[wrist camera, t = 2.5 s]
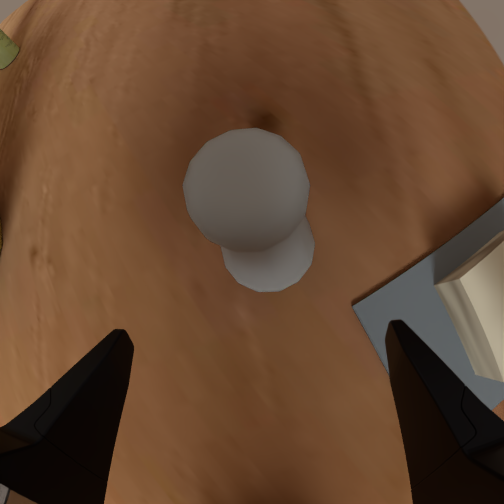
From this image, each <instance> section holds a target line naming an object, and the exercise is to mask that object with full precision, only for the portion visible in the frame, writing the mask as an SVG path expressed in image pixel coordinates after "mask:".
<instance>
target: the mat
mask: <svg viewBox="0 0 504 504" xmlns="http://www.w3.org/2000/svg"><path fill="white" fill-rule="evenodd" d="M503 230H504V198H503V199H501V200H500V201H499V202H498V203H497V204H495V205H494V206H493V207H492V208H490V209H489V210H488V211H487V212H486V213H484V214H483V215H482V216H481V217H479V218H478V219H477V220H475V221H474V222H473V223H472V224H470V225H469V226H468V227H467V228H465V229H464V230H463V231H461V232H460V233H459V234H457V235H456V236H455V237H453V238H452V239H451V240H449V241H448V242H447V243H445V244H444V245H443V246H441V247H440V248H438V249H437V250H436V251H434V252H433V253H432V254H430V255H429V256H427V257H426V258H425V259H423V260H422V261H420V262H419V263H417V264H416V265H415V266H413V267H412V268H410V269H409V270H407V271H406V272H404V273H403V274H401V275H400V276H398V277H397V278H395V279H394V280H392V281H391V282H389V283H388V284H386V285H385V286H383V287H382V288H380V289H379V290H377V291H376V292H374V293H372V294H371V295H369V296H368V297H366V298H365V299H363V300H361V301H360V302H358V303H357V304H355V305H353V306H352V308H353V310H354V312H355V313H356V315H357V317H358V319H359V321H360V322H361V324H362V326H363V328H364V330H365V331H366V333H367V335H368V337H369V339H370V341H371V343H372V344H373V346H374V348H375V350H376V352H377V354H378V356H379V358H380V359H381V361H382V363H383V365H384V367H385V369H386V371H387V373H388V375H389V368H388V361H387V353H386V346H385V336H386V332H387V328H388V324H389V322H390V321H391V320H397V319H401V320H403V321H404V322H405V323H406V324H407V325H408V326H409V327H410V328H411V329H412V330H413V331H414V332H415V333H416V334H417V335H418V336H419V337H420V338H421V339H422V340H423V341H424V342H425V343H426V344H427V345H428V346H429V347H430V348H431V349H432V350H433V351H434V352H435V353H436V354H437V355H438V356H439V357H440V358H441V359H442V360H443V361H444V362H445V364H446V365H447V366H448V367H449V368H450V369H451V370H452V371H453V372H454V373H455V374H456V375H457V376H458V377H459V378H460V379H461V380H462V381H463V382H464V384H465V385H466V386H467V387H468V388H469V389H470V390H471V391H472V392H473V393H474V394H475V395H476V396H477V397H478V398H479V399H480V400H481V401H482V402H483V403H484V404H485V405H486V406H487V407H488V408H489V409H490V410H492V409H494V408H495V407H496V406H497V405H498V404H499V403H500V402H501V401H502V400H503V399H504V382H500V381H497V380H493V379H489V378H486V377H482V376H478V375H475V372H474V370H473V367H472V365H471V363H470V360H469V358H468V356H467V353H466V351H465V349H464V346H463V344H462V342H461V340H460V337H459V335H458V333H457V331H456V329H455V327H454V325H453V322H452V320H451V318H450V316H449V314H448V312H447V310H446V308H445V306H444V304H443V302H442V300H441V298H440V296H439V294H438V292H437V291H436V289H435V287H434V285H435V284H437V283H438V282H439V281H441V280H442V279H443V278H444V277H446V276H447V275H448V274H450V273H451V272H452V271H454V270H455V269H456V268H457V267H459V266H460V265H461V264H462V263H464V262H465V261H466V260H467V259H469V258H470V257H471V256H472V255H473V254H475V253H476V252H477V251H478V250H479V249H481V248H482V247H483V246H484V245H485V244H487V243H488V242H489V241H490V240H491V239H492V238H493V237H495V236H496V235H497V234H498V233H499V232H501V231H503ZM389 377H390V376H389Z"/></svg>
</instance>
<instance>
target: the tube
mask: <svg viewBox="0 0 504 504" xmlns="http://www.w3.org/2000/svg"><path fill="white" fill-rule="evenodd" d="M18 52H19V47H18V46H17V45H16V44H15V43H14V42H13V41H12V40H11V39H10V38H9V37H8V36H7V35H6V34H5V33H4V32H3V31H2V30H1V29H0V69H3V68H5V67H6V66H8V65H9V64H10V63H11V62H12V61H13V60H14V59H15V57H16V56H17V54H18Z"/></svg>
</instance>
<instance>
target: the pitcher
mask: <svg viewBox="0 0 504 504" xmlns="http://www.w3.org/2000/svg"><path fill="white" fill-rule="evenodd" d="M0 219H1V218H0ZM1 232H2V223H1V220H0V252H1V249H2V246H1V245H2V243H3V241H2V240H1V239H2V233H1Z"/></svg>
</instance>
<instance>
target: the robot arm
mask: <svg viewBox="0 0 504 504" xmlns="http://www.w3.org/2000/svg"><path fill="white" fill-rule="evenodd" d="M385 346H386V353H387V361H388V368H389V376H390V383H391V388H392V392H393V397H394V401H395V405H396V410H397V414H398V419H399V424H400V429H401V433H402V439H403V444H404V449H405V455H406V460H407V466H408V472H409V478H410V485H411V489H412V490H411V492H412V500H413V504H504V421H503V420H502V419H501V418H499V417H498V416H497V415H496V414H495V413H494V412H493V411H491V410H490V409H489V408H488V407H487V406H486V405H485V404H484V403H483V402H482V401H481V400H480V399H479V398H478V397H477V396H476V395H475V394H474V393H473V392H472V391H471V390H470V389H469V388H468V387H467V386H466V385H465V384H464V382H463V381H462V380H461V379H460V378H459V377H458V376H457V375H456V374H455V373H454V372H453V371H452V370H451V369H450V368H449V367H448V366H447V365H446V364H445V362H444V361H443V360H442V359H441V358H440V357H439V356H438V355H437V354H436V353H435V352H434V351H433V350H432V349H431V348H430V347H429V346H428V345H427V344H426V343H425V342H424V341H423V340H422V339H421V338H420V337H419V336H418V335H417V334H416V333H415V332H414V331H413V330H412V329H411V328H410V327H409V326H408V325H407V324H406V323H405V322H404V321H403V320H401V319H397V320H391V321H390V322H389V324H388V328H387V332H386V336H385ZM133 353H134V345H133V343H132V341H131V339H130V337H129V335H128V333H127V332H126V330H124V329H114V330H113V331H112V332H111V333H109V334H108V335H107V336H106V337H105V338H104V339H103V340H102V341H100V342H99V343H98V344H97V345H96V346H95V347H94V348H93V349H92V350H91V351H89V352H88V353H87V354H86V355H85V356H84V357H83V358H82V359H81V360H80V361H78V362H77V363H76V364H75V365H74V366H73V367H72V368H71V369H70V370H69V371H68V372H67V373H65V374H64V375H63V376H62V377H61V378H60V379H59V380H58V381H57V382H56V383H55V384H54V385H53V386H52V387H51V388H49V389H48V390H47V391H46V392H45V393H44V394H43V395H42V396H41V397H39V398H38V399H37V400H36V401H35V402H34V403H33V404H31V405H30V406H29V407H28V408H27V409H25V410H24V411H23V412H21V413H20V414H19V415H18V416H16V417H15V418H14V419H13V420H11V421H10V422H9V423H7V424H6V425H4V426H2V427H0V504H104V500H105V494H106V488H107V481H108V476H109V471H110V466H111V461H112V456H113V451H114V446H115V441H116V437H117V432H118V428H119V423H120V419H121V415H122V411H123V406H124V402H125V398H126V394H127V390H128V386H129V380H130V373H131V366H132V359H133Z"/></svg>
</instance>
